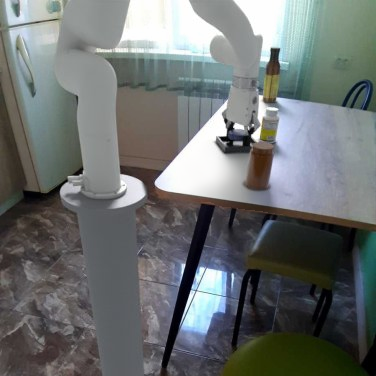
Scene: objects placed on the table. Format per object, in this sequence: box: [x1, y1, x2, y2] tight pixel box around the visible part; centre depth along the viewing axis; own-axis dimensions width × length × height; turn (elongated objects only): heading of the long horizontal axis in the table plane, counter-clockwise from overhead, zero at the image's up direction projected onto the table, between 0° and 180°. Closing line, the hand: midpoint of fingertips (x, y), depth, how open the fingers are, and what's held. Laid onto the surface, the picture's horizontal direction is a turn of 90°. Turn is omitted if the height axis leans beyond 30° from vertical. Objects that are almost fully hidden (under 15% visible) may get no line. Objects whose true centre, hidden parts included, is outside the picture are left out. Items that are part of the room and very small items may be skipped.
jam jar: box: [245, 141, 275, 191], centre depth 111 cm, size 6×6×11 cm
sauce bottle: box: [262, 46, 281, 103], centre depth 176 cm, size 6×6×20 cm
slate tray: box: [215, 135, 258, 154], centre depth 137 cm, size 12×11×2 cm
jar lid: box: [228, 128, 245, 141], centre depth 135 cm, size 7×7×2 cm
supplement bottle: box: [259, 106, 280, 144], centre depth 139 cm, size 6×6×10 cm
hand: (237, 143), depth 137 cm, fingers closed on jar lid, 6 cm apart
